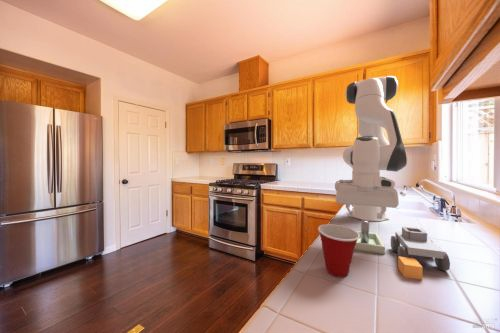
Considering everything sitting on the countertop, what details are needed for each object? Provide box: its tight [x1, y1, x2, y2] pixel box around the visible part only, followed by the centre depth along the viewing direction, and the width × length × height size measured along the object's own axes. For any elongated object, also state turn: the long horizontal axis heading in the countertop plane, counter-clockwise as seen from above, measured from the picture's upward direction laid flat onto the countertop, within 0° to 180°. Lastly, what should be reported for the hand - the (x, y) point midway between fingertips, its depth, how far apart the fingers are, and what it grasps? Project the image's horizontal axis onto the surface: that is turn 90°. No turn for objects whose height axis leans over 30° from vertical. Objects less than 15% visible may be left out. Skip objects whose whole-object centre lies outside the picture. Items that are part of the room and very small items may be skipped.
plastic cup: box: [317, 223, 360, 278], centre depth 58 cm, size 11×11×12 cm
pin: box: [360, 219, 370, 244], centre depth 77 cm, size 3×3×8 cm
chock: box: [397, 255, 424, 281], centre depth 58 cm, size 5×4×4 cm
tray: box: [354, 230, 386, 255], centre depth 77 cm, size 13×10×2 cm
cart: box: [390, 226, 451, 272], centre depth 65 cm, size 14×11×8 cm
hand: (364, 217), depth 78 cm, fingers open, 8 cm apart
